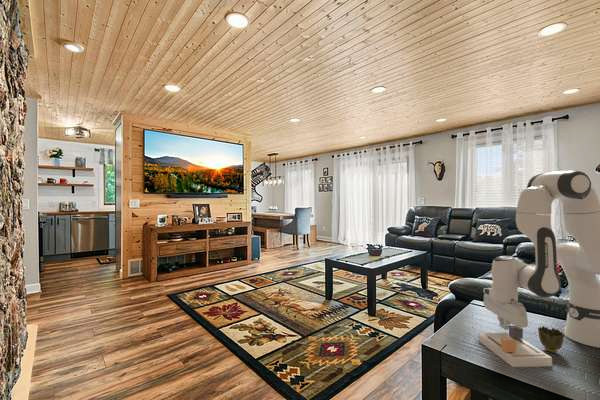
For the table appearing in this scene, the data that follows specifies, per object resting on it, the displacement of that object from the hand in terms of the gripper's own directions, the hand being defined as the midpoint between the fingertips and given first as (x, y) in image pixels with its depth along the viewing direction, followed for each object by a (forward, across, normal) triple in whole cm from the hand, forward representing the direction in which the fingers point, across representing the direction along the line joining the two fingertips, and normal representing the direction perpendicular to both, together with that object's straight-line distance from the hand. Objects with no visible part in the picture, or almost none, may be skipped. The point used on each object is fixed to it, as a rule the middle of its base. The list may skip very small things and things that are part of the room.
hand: (504, 328), depth 118 cm
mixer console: (+4, -11, +5) cm, 12 cm away
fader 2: (+1, -6, 0) cm, 6 cm away
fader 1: (+1, -15, +10) cm, 18 cm away
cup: (+4, -11, -10) cm, 15 cm away
